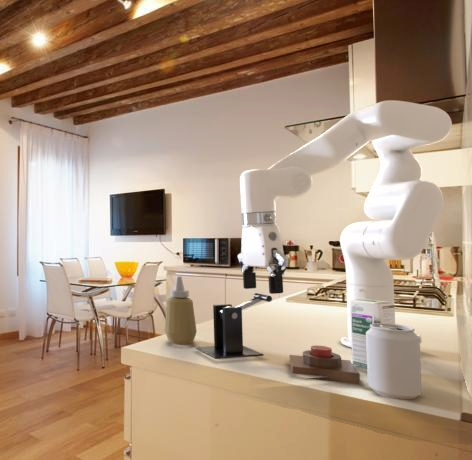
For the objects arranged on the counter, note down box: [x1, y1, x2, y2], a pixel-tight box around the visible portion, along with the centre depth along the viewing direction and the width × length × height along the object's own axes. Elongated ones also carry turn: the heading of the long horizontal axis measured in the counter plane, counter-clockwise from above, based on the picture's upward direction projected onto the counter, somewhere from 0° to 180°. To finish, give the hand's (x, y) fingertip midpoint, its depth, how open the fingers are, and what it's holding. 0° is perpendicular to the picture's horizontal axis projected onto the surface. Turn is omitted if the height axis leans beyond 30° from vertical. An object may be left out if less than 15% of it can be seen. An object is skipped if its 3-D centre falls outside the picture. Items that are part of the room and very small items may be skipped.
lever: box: [218, 292, 273, 320], centre depth 99 cm, size 12×5×2 cm, turn 99°
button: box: [310, 345, 333, 358], centre depth 84 cm, size 4×4×2 cm
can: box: [366, 323, 423, 400], centre depth 74 cm, size 8×8×12 cm
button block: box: [288, 349, 361, 385], centre depth 84 cm, size 11×9×4 cm
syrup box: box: [350, 299, 396, 369], centre depth 86 cm, size 6×6×14 cm
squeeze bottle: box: [164, 276, 197, 345], centre depth 109 cm, size 8×8×18 cm
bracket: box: [195, 303, 264, 360], centre depth 99 cm, size 12×9×12 cm
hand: (262, 290), depth 100 cm, fingers open, 9 cm apart
